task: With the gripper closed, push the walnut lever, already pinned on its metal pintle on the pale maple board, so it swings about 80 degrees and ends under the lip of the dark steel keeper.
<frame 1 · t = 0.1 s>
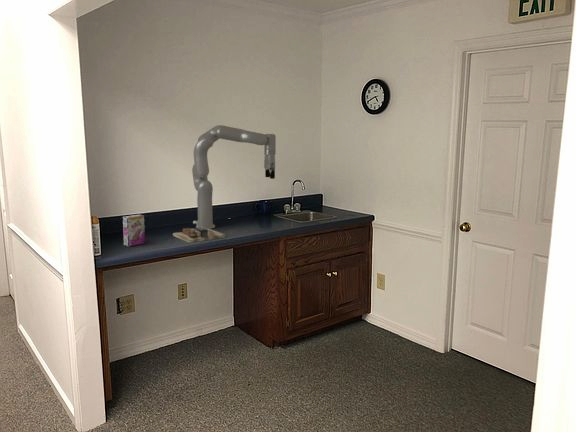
hand: (270, 177, 334), 31 cm above the counter, tool pointing down, fingers open, 9 cm apart
keeper: (204, 239, 290), resting on board
lever: (190, 230, 294), point 4 cm above the counter, hinge at 80.0°
candy bar box: (134, 244, 277), on the counter
board: (199, 236, 298), on the counter
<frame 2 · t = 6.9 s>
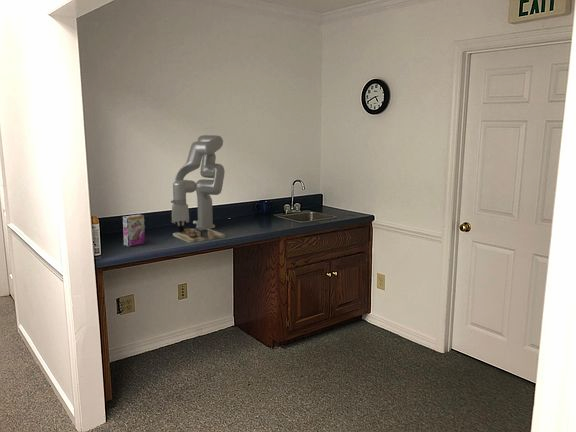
hand: (180, 232, 300), 2 cm above the counter, tool pointing down, fingers closed
lever: (190, 230, 294), point 4 cm above the counter, hinge at 78.7°, touching gripper
everything else where it was.
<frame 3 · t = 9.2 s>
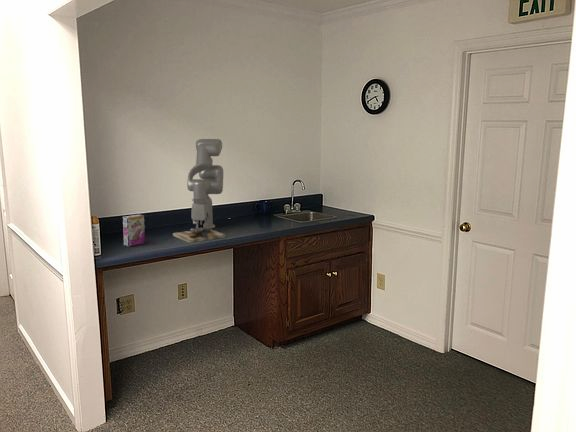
hand: (200, 230, 303), 2 cm above the counter, tool pointing down, fingers closed
lever: (199, 230, 294), point 4 cm above the counter, hinge at 30.0°, touching gripper
everything else where it was.
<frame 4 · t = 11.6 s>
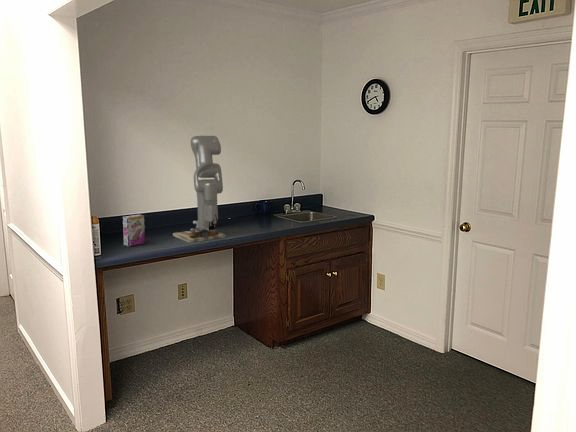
hand: (211, 232, 300), 2 cm above the counter, tool pointing down, fingers closed
lever: (203, 231, 292), point 4 cm above the counter, hinge at -1.0°, touching gripper
everything else where it was.
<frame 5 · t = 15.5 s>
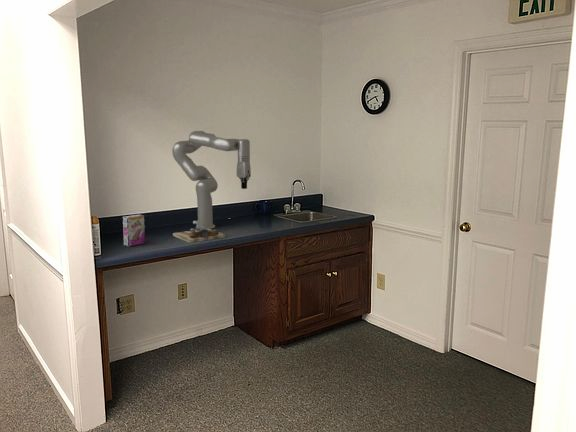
hand: (244, 188, 310), 27 cm above the counter, tool pointing down, fingers closed
lever: (203, 231, 292), point 4 cm above the counter, hinge at -1.0°
everything else where it was.
at the end: lever at -1° (first picture: +80°); candy bar box moved 0.2 cm from its start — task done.
